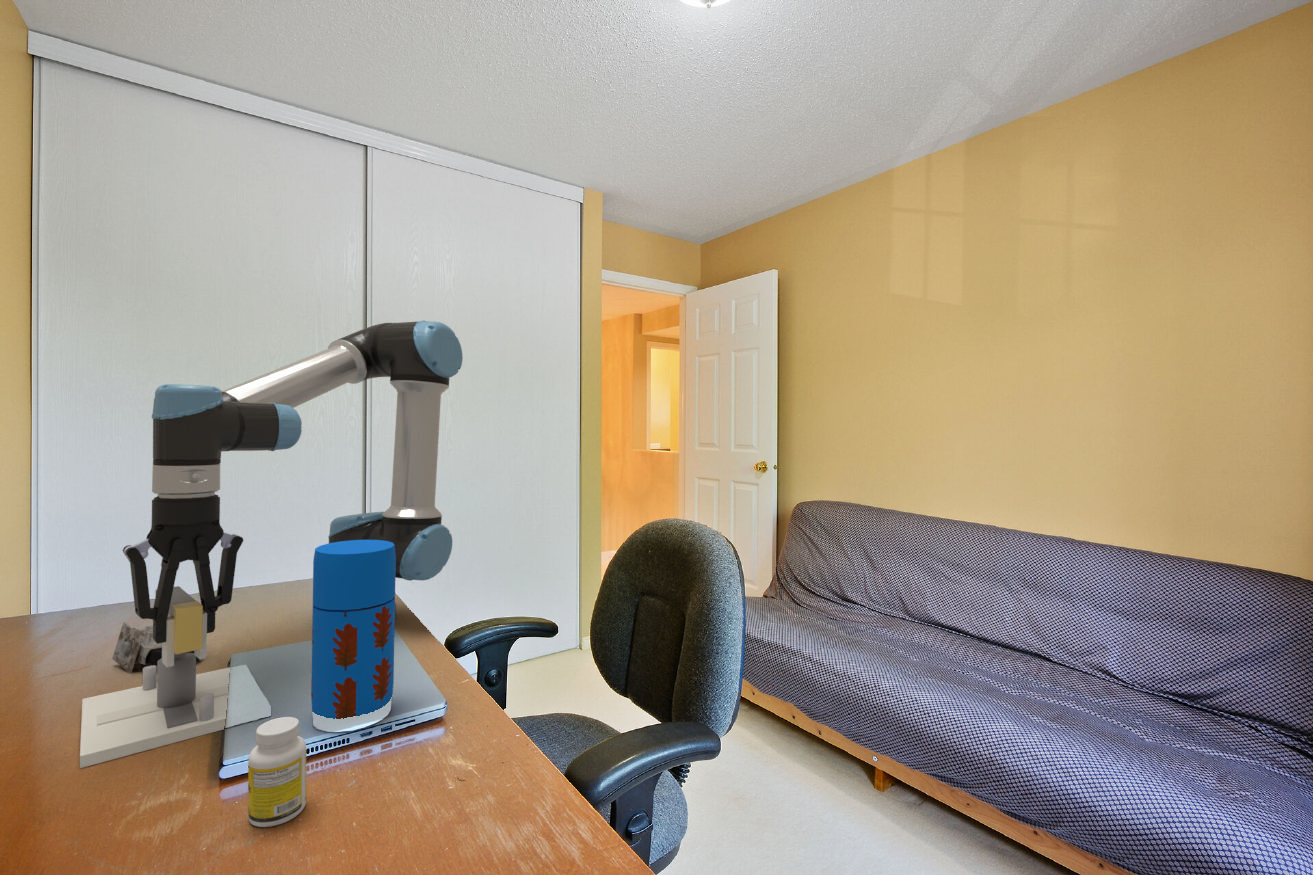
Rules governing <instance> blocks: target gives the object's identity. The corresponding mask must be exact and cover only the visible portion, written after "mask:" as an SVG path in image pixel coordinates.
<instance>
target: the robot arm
mask: <svg viewBox="0 0 1313 875" xmlns="http://www.w3.org/2000/svg"><path fill="white" fill-rule="evenodd" d="M462 363H463V350H462V346H461V343H460V340H459V338H458V337H457V336H456V333H455V332H454V330H453V329H452V328H450V327H449V326H448V325H447V324H445V323H443V322H441V321H429V320H428V321H427V320H420V321H407V322H406V321H405V322H384V323H383V322H382V323H378V324H374V325H371V326H368V327H364V328H363V329H360V330H358V331H355V332H353V333H350V334H348V335H346V336H344V337H341V338H337V339H335V340H334V341H331V343H329V345H328V347H327V349H324V350H321V351H320V352H317V353H314V354H312V355H309V356H307V357H304V358H302V359H299V360H297V361H294V362H291V363H289V364H286V365H284V366H281V367H279V368H276V369H274V370H272V371H268V372H266V373H264V374H261V375H259V376H256V377H254V378H251V379H249V380H245V381H244V382H241V383H238V384H236V385H234V386H231V387H228V388H226V389H224V390H221V388H219V387H217V386H210V385H201V384H200V385H199V384H195V385H194V384H182V383H181V384H178V383H177V384H176V383H175V384H174V383H172V384H170V383H169V384H168V383H166V384H161V385H159V386H158V387H157V388H156V390H155V392H154V399H153V406H152V407H153V408H152V414H151V419H152V473H151V474H152V475H151V476H152V478H151V479H152V481H151V492H152V493H153V494H155V495H156V496H155V497H154V498H153V499H151V527H150V530H149V533H148V534H147V535H146V539H144V540H142V541H140V542H138V543H135V544H133V545H131V544H130V545H129V544H128V545H125V546H124V547H123V548H122V552H123V554H124V556H125V558H126V559H127V560H128V561H129V566H130V574H131V575H130V576H131V585H132V592H133V603H134V611H135V614H136V615H137V616H138V617H139V619H142V620H152V625H153V639H154V641H155V642H156V643H157V644H159V643H162V663H163V664H164V665H165V666H166V667H172V666H174V618H173V617H171V616H170V615H168V613H169V608H170V603H171V598H172V593H173V588H174V587H175V581H176V577H177V571H178V570H179V568H180V563H182V562H183V563H184V562H186V561H192V563H193V566H194V570H195V576H196V581H197V582H196V583H197V586H198V594H199V598H200V599H199V600H200V604H201V605H203V613H202V649H199V650H194V655H195V656H196V657H197V658H199V659H200V660H199V661H202V660H204V659H205V660H206V659H207V651H208V650H207V647H208V645H207V644H208V643H207V642H208V634H211V633H214V632H215V630H216V612H217V611H218V609H219V608H220V607H221V606H223V605H228V604H230V603H231V602H232V599H233V598H232V596H233V588H234V581H235V573H236V572H235V571H236V563H237V558H238V557H237V556H238V552H239V550H240V548H241V546H242V544H243V542H244V537H242V536H240V535H238V534H235V533H233V534H231V533H227V532H225V531H224V529H223V526H221V521H220V518H221V496H219V495H218V494H216V492H218V491H220V490H221V459H222V452H231V451H232V452H236V451H237V452H244V451H245V452H249V451H250V452H253V451H269V452H270V451H271V452H274V451H278V450H287V449H291V448H293V447H294V446H295V445H297V443H298V442H299V440H300V438H301V435H302V432H303V431H302V427H303V426H302V424H303V423H302V420H301V419H302V418H301V417H300V414H299V412H298V411H297V410H296V409H295V408H297V407H299V406H301V405H303V404H305V403H307V402H309V401H311V400H313V399H315V398H317V397H320V396H322V395H323V394H326V393H328V392H330V391H333V390H335V389H337V388H339V387H341V386H344V385H345V384H347V383H348V384H350V385H351V384H353V385H355V384H359V383H361V382H364V381H365V380H370V379H374V378H375V379H376V378H390V379H389V384H391V385H390V386H392V387H393V388H394V389H395V390H396V392H397V395H396V396H397V397H396V398H397V399H396V410H395V428H394V429H395V430H394V446H393V447H394V448H393V449H394V450H393V463H392V465H393V466H392V481H391V483H392V484H391V496H390V498H391V499H390V506H389V508H387V509H386V510H385V511H377V512H376V511H375V512H365V513H357V514H350V515H349V514H348V515H343V516H339V517H336V518H334V519H333V520H332V521H331V523H330V524H329V535H328V543H334V542H340V541H350V540H382V541H389V542H392V543H393V544H394V545H395V554H396V574H395V579H396V578H397V579H403V580H404V581H427V580H430V579H432V578H435V577H436V576H437V575H439V573H441V572H442V570H443V568H444V567H445V566H446V565H447V563H448V561H449V559H450V557H451V555H452V554H451V553H452V549H453V535H452V533H450V529H449V528H448V527H447V526H445V525H444V524H442V519H443V518H442V517H443V514H442V512H440V511H439V509H437V507H436V490H437V472H438V455H439V453H438V452H439V435H440V419H441V418H440V417H441V402H442V401H441V398H442V394H443V393H444V392H446V390H448V389H449V388H450V378H453V377H454V376H456V375H457V374H458V373H459V370H461V368H462V365H463V364H462ZM219 542H220V546H221V548H222V552H221V555H220V556H221V558H220V564H219V566H220V567H219V572H218V573H219V574H218V581H217V589H216V595H215V591H214V590H215V589H214V588H215V587H214V584H213V576H212V571H211V566H210V565H211V561H210V560H211V559H210V552H211V551H212V550H213V549H214V548H215V546H216V545H217V544H218V543H219ZM151 548H152V549H153V550H154V551H155V552H156V553H157V554H159V556H160V557H161V558H162V559H161V562H160V563H161V564H160V567H161V569H160V574H159V577H158V578H159V579H158V584H157V588H156V590H157V592H156V591H155V594H156V597H155V596H154V597H155V598H154V602H153V607H151V600H150V590H149V579H148V569H147V565H146V561H145V559H147V557H149V549H151ZM396 603H397V602H395V618H396V617H397V604H396Z"/></svg>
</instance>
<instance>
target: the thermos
mask: <svg viewBox="0 0 1313 875" xmlns="http://www.w3.org/2000/svg"><path fill="white" fill-rule="evenodd" d="M312 563H313V565H312V567H313V568H312V570H313V571H312V619H311V620H312V621H311V622H312V624H311V628H312V629H311V631H312V632H311V635H312V636H311V682H310V683H311V684H310V685H311V687H310V689H311V692H310V694H311V695H310V696H311V713H312V712H314V713H315V714H317V715H320V716H324V717H326V718H333V719H335V718H336V719H341V718H343V719H344V718H347V717H353V716H360V715H362V714H368V713H370V712H374V711H375V710H378V709H380V708H382V707H383V706H385V705H386V704H387V703H388V702H389V701H390V699H391V697H392V695H393V694H394V678H395V676H394V675H395V674H394V673H395V669H394V668H395V667H394V666H395V622H396V621H395V618H396V617H395V603H396V597H395V596H396V578H395V574H396V554H395V545H394V544H393V543H392V542H389V541H382V540H350V541H340V542H334V543H329V542H328V543H324V544H321V545H319V546H316V548H314V555H313V562H312ZM392 698H393V697H392Z"/></svg>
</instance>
